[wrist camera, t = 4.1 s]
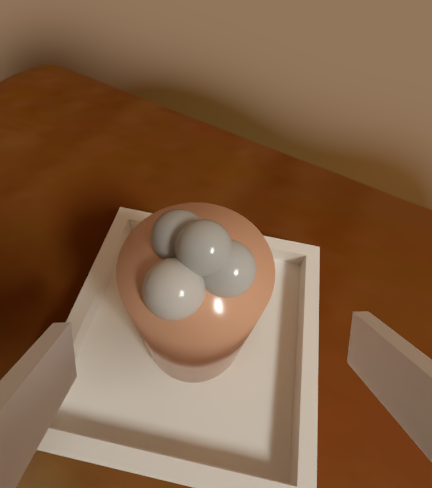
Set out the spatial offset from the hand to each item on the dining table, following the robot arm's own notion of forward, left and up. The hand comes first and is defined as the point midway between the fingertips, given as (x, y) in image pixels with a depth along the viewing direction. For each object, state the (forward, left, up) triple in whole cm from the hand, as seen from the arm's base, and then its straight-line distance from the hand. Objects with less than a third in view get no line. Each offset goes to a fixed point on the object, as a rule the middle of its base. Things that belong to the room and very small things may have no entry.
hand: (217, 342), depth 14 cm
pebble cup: (-2, +2, -7) cm, 7 cm away
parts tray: (-2, +2, -8) cm, 8 cm away
